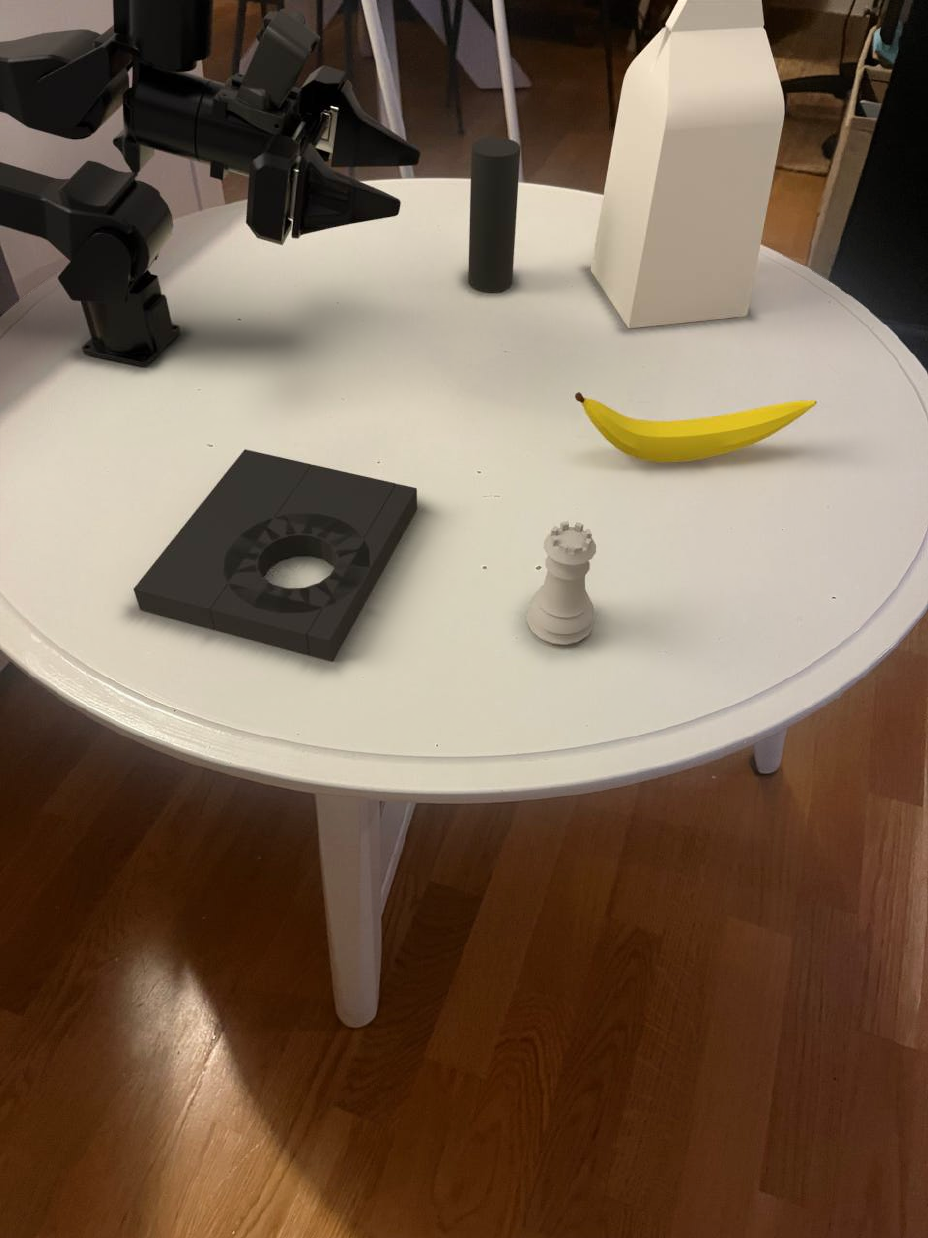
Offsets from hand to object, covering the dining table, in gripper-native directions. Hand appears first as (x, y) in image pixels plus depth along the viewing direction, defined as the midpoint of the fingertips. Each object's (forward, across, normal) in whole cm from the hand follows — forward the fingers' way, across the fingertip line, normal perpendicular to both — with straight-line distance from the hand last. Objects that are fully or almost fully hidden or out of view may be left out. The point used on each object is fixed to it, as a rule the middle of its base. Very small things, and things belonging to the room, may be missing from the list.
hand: (410, 181), depth 74 cm
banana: (+26, -9, +11) cm, 30 cm away
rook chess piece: (+18, -29, +13) cm, 37 cm away
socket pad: (-2, -25, +17) cm, 31 cm away
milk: (+25, +17, +11) cm, 33 cm away
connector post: (+8, +16, +15) cm, 24 cm away
